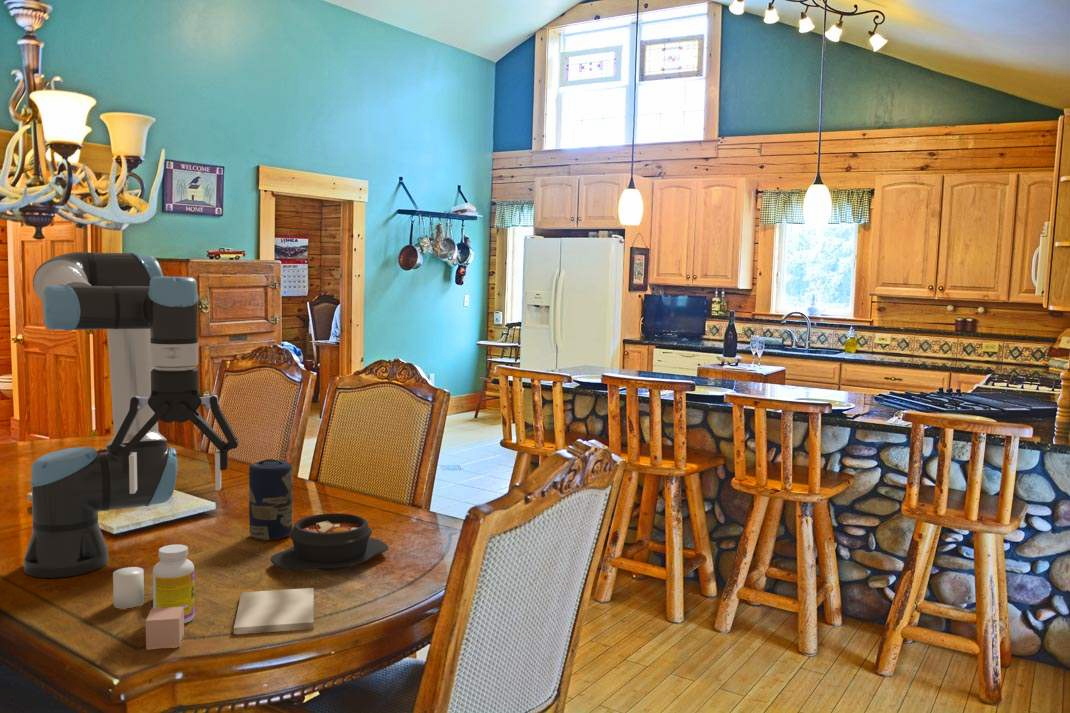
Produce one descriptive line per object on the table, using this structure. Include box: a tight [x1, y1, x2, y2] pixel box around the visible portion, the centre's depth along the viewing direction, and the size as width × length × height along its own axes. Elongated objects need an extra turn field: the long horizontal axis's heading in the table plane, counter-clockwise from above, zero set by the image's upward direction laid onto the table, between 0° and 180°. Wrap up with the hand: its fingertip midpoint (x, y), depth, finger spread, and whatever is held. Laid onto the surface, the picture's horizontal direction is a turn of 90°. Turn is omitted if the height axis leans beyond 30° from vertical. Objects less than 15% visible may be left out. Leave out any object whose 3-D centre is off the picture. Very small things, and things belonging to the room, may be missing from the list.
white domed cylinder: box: [112, 566, 145, 610], centre depth 156 cm, size 5×5×6 cm
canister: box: [248, 458, 294, 541], centre depth 195 cm, size 10×10×18 cm
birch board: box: [233, 587, 315, 635], centre depth 154 cm, size 13×16×1 cm
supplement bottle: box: [152, 544, 196, 624], centre depth 149 cm, size 7×7×13 cm
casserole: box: [270, 512, 389, 572], centre depth 181 cm, size 25×19×8 cm
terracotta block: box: [145, 607, 185, 648], centre depth 141 cm, size 5×5×5 cm
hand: (176, 490), depth 148 cm, fingers open, 13 cm apart
